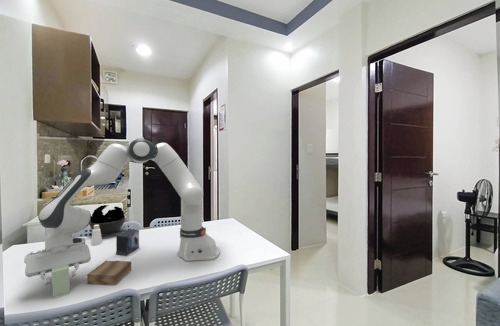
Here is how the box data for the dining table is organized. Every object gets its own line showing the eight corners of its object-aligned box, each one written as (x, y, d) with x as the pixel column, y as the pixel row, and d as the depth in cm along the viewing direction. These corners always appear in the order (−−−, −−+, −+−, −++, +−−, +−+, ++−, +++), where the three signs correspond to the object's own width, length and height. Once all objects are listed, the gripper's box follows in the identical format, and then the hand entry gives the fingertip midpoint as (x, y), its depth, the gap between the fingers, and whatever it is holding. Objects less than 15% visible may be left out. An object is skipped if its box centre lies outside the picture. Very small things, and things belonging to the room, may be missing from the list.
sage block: (68, 286, 95) (68, 263, 94) (69, 292, 91) (68, 268, 90) (52, 291, 91) (51, 267, 91) (52, 298, 88) (52, 272, 87)
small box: (126, 256, 122) (126, 236, 121) (115, 254, 123) (115, 235, 123) (139, 247, 132) (139, 229, 132) (129, 246, 134) (129, 228, 133)
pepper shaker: (88, 244, 135) (88, 225, 134) (98, 241, 140) (97, 223, 139) (95, 246, 133) (95, 227, 132) (104, 242, 138) (104, 224, 137)
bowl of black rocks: (85, 234, 150) (84, 205, 149) (118, 226, 165) (118, 200, 164) (95, 242, 137) (94, 211, 136) (130, 233, 152) (130, 205, 151)
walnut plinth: (131, 269, 109) (131, 261, 108) (115, 284, 97) (115, 275, 96) (105, 268, 109) (105, 260, 109) (87, 283, 97) (87, 274, 97)
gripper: (23, 250, 88) (22, 286, 82) (89, 237, 102) (92, 268, 95) (25, 257, 92) (24, 292, 85) (88, 243, 105) (91, 273, 99)
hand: (60, 279), depth 90 cm, fingers open, 7 cm apart
